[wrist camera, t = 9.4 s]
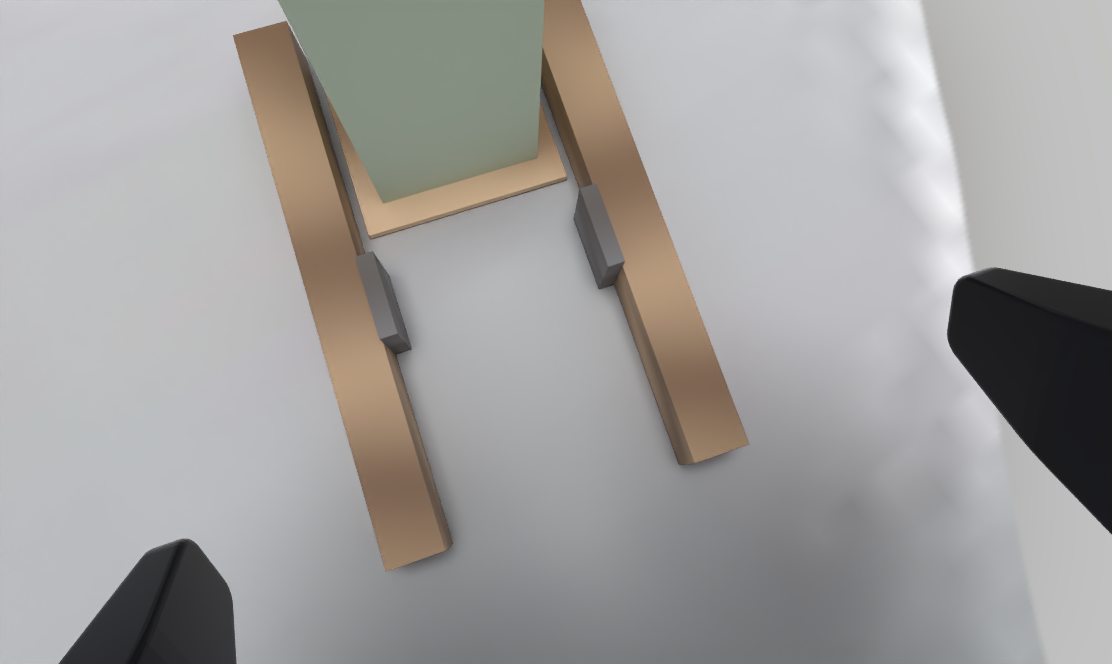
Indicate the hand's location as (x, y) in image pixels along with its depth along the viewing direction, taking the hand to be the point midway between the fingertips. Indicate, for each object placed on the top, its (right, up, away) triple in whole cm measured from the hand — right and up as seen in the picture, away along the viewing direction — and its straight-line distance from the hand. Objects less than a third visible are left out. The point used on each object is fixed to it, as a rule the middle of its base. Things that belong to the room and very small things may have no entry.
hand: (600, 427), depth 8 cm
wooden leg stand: (-3, +4, +14) cm, 15 cm away
